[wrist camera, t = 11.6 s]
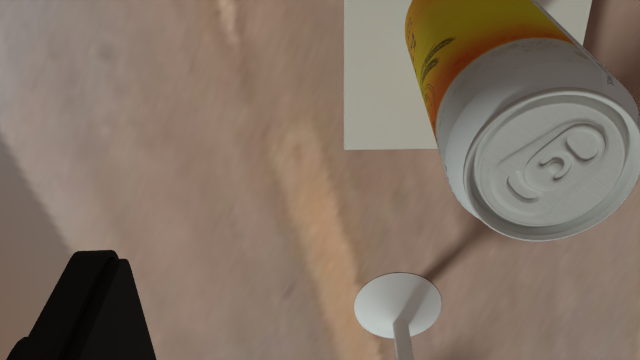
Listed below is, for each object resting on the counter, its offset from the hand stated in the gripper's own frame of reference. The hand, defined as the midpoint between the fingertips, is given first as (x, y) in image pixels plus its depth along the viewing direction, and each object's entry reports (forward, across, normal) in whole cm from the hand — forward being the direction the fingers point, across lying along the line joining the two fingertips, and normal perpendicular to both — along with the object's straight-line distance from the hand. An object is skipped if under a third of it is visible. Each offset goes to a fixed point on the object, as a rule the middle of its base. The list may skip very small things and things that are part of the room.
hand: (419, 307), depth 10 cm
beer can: (+24, -5, +3) cm, 25 cm away
